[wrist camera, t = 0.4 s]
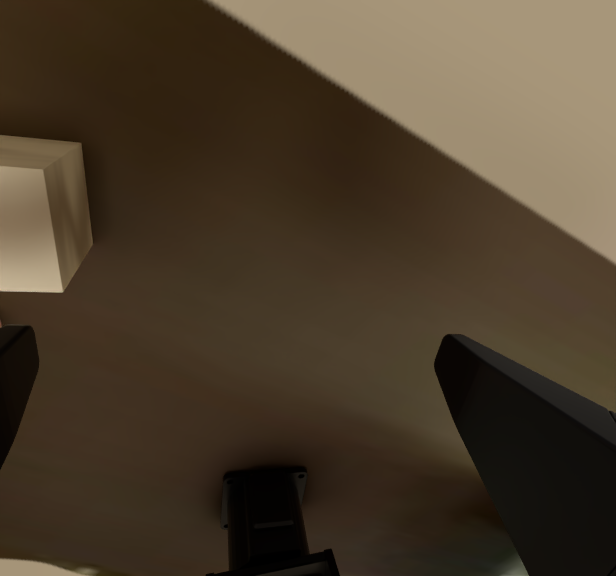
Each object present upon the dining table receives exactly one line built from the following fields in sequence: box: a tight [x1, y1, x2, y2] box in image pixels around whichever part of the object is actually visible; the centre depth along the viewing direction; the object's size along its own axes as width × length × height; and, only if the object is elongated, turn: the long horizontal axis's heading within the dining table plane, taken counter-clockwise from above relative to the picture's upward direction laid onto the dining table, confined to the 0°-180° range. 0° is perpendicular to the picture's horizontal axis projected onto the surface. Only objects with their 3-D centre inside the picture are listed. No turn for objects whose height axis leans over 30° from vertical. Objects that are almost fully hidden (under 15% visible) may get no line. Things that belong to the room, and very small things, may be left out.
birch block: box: [0, 135, 93, 292], centre depth 17 cm, size 5×5×5 cm
